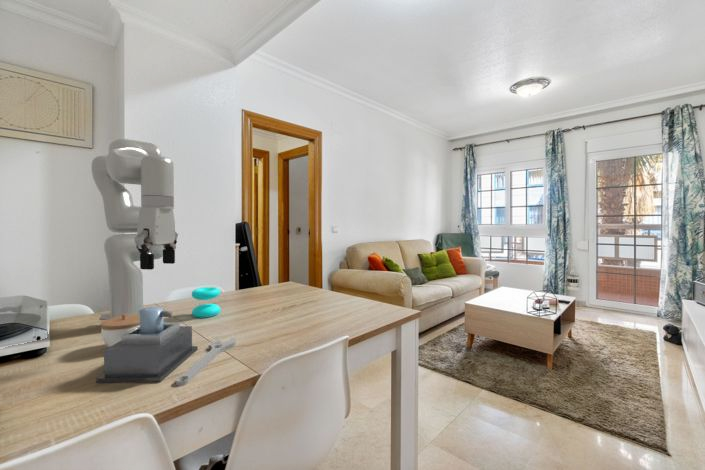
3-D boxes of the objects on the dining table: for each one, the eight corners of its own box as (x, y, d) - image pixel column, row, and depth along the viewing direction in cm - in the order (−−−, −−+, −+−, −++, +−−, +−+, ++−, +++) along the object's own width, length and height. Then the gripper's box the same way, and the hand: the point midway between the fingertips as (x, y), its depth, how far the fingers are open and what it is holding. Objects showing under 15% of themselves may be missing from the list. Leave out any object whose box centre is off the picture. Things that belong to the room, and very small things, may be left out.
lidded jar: (108, 342, 94) (107, 311, 93) (150, 337, 98) (149, 307, 98) (95, 356, 84) (94, 322, 84) (142, 350, 88) (142, 317, 88)
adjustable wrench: (185, 388, 69) (185, 380, 69) (158, 387, 70) (158, 379, 70) (238, 343, 94) (238, 338, 94) (218, 343, 95) (218, 337, 95)
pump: (135, 340, 77) (134, 312, 76) (148, 333, 82) (147, 306, 81) (165, 340, 77) (164, 312, 77) (176, 333, 82) (175, 306, 82)
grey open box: (96, 382, 70) (95, 343, 70) (146, 350, 88) (145, 318, 88) (160, 382, 71) (159, 342, 70) (197, 349, 89) (196, 318, 88)
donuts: (185, 291, 118) (203, 286, 128) (185, 317, 119) (204, 310, 128) (208, 292, 116) (225, 287, 126) (209, 319, 116) (225, 312, 126)
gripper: (162, 203, 93) (163, 261, 95) (120, 201, 76) (121, 271, 77) (188, 204, 94) (188, 261, 95) (151, 202, 76) (152, 272, 77)
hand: (158, 266), depth 86 cm, fingers open, 9 cm apart
